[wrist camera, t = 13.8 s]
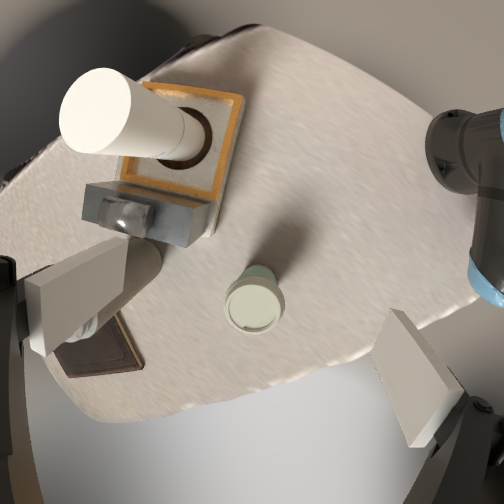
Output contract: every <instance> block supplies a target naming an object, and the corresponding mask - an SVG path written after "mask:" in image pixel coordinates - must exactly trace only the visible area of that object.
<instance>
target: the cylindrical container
mask: <svg viewBox="0 0 504 504" xmlns="http://www.w3.org/2000/svg"><path fill="white" fill-rule="evenodd" d="M59 124H60V130H61V134H62V136H63V138H64V141H65V142H66V143H67V144H68V146H69V147H71V148H72V149H73V150H75V151H78V152H80V153H92V154H107V155H121V156H134V157H145V158H156V159H165V160H175V161H186V160H189V159H191V158H193V157H195V156H196V155H197V154H198V153H199V152H200V151H201V149H202V147H203V145H204V141H205V132H204V129H203V126H202V125H201V123H200V122H199V121H198V120H196V119H195V118H193V117H192V116H190V115H189V114H187V113H185V112H184V111H182V110H181V109H179V108H178V107H176V106H174V105H173V104H171V103H170V102H168V101H166V100H165V99H163V98H162V97H160V96H158V95H157V94H155V93H153V92H152V91H150V90H148V89H147V88H145V87H143V86H141V85H140V84H138V83H136V82H135V81H133V80H131V79H129V78H127V77H126V76H124V75H122V74H121V73H119V72H117V71H115V70H113V69H108V68H99V69H95V70H91V71H89V72H87V73H85V74H84V75H82V76H81V77H80V78H79V79H78V80H76V82H74V84H73V85H72V86H71V87H70V89H69V90H68V92H67V94H66V95H65V97H64V100H63V102H62V105H61V110H60V116H59Z"/></svg>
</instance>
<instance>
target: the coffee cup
mask: <svg viewBox="0 0 504 504" xmlns="http://www.w3.org/2000/svg"><path fill="white" fill-rule="evenodd" d="M223 304H224V312H225V315H226V317H227V318H228V320H229V322H230V323H231V325H232V326H233V327H234V328H236V329H237V330H239V331H241V332H243V333H246V334H251V335H257V334H262V333H265V332H267V331H269V330H271V329H272V328H273V327H274V326H276V325H277V324H278V322H279V321H280V320H281V318H282V316H283V313H284V309H285V300H284V296H283V293H282V292H281V290H280V288H279V287H278V284H277V281H276V278H275V275H274V273H273V272H272V271H271V269H269V268H268V267H266V266H264V265H259V264H257V265H252V266H250V267H248V268H247V269H246V270H245V271H244V272H243V273H242V274H241V276H240V277H239V278H238V279H237V280H236V281H235V282H233V283H232V284H231V285H230V286H229V288H228V289H227V291H226V293H225V296H224V302H223Z"/></svg>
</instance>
